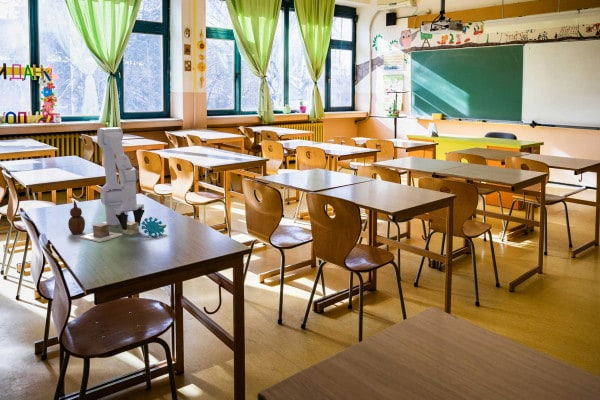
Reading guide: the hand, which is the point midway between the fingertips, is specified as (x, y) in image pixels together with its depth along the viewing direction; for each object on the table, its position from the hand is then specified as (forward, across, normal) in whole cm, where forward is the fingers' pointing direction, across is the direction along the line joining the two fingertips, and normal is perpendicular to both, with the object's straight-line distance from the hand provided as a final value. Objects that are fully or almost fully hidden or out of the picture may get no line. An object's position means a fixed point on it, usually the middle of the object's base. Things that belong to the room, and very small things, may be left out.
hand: (131, 227), depth 241 cm
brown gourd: (+2, -13, +19) cm, 23 cm away
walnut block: (+2, -11, +6) cm, 13 cm away
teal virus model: (+3, +2, -11) cm, 12 cm away
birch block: (+2, 0, 0) cm, 2 cm away
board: (+2, -11, +6) cm, 13 cm away
